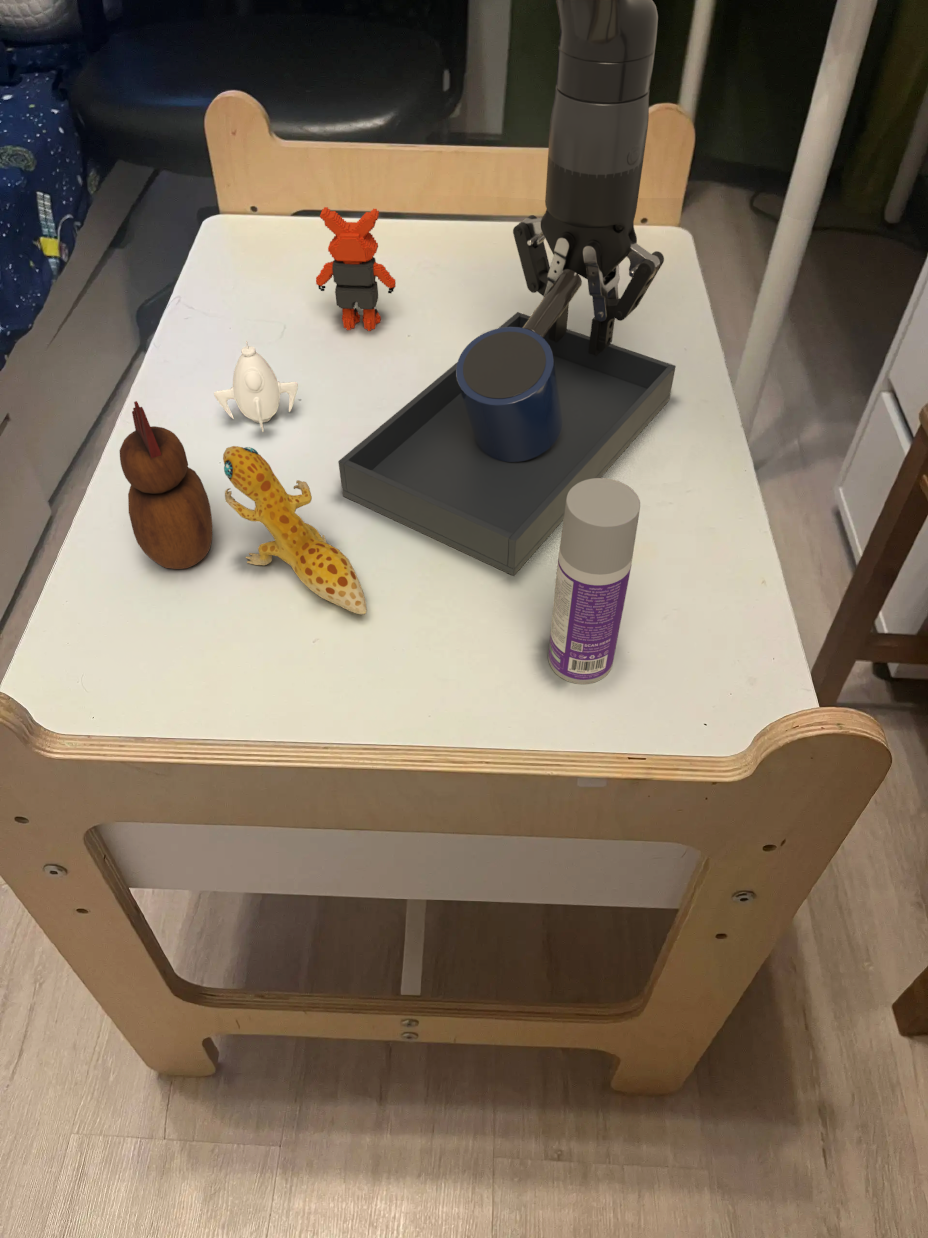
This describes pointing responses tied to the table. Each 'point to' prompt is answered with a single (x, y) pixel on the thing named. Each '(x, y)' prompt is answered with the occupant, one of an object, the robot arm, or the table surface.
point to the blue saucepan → (516, 381)
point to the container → (592, 578)
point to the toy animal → (354, 268)
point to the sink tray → (497, 490)
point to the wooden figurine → (165, 496)
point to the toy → (290, 530)
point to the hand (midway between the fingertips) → (576, 343)
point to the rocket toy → (255, 388)
